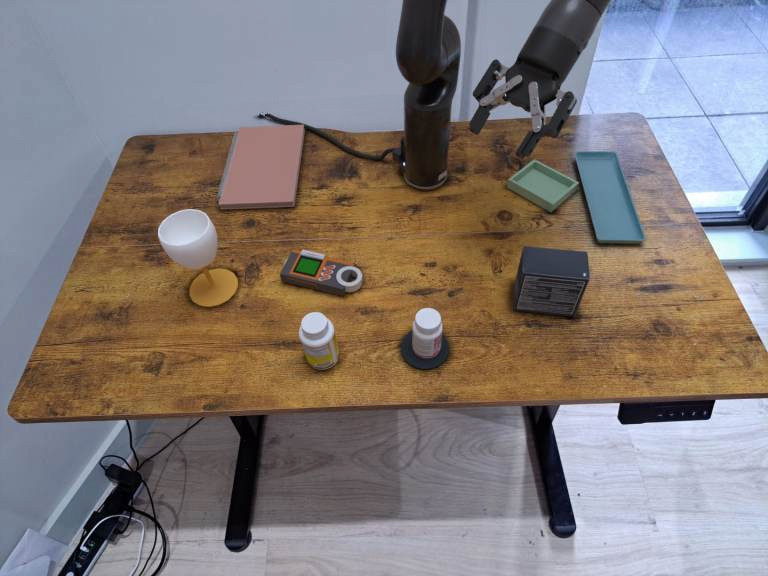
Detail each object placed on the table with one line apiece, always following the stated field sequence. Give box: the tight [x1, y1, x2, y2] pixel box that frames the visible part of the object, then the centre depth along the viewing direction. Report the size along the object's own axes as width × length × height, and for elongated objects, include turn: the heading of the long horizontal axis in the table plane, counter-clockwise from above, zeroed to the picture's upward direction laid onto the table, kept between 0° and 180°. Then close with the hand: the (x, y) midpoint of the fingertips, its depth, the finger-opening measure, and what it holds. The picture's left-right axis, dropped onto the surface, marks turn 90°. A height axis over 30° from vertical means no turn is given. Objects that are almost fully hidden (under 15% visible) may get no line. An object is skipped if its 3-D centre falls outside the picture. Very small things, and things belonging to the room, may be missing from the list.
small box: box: [512, 245, 591, 318], centre depth 86 cm, size 11×6×10 cm, turn 80°
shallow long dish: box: [573, 150, 647, 245], centre depth 104 cm, size 26×9×2 cm, turn 177°
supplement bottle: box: [298, 311, 340, 371], centre depth 81 cm, size 6×6×10 cm
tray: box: [506, 158, 580, 213], centre depth 107 cm, size 11×9×2 cm
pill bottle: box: [412, 307, 444, 358], centre depth 81 cm, size 5×5×8 cm
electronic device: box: [279, 248, 363, 297], centre depth 94 cm, size 7×3×15 cm
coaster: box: [400, 329, 450, 371], centre depth 85 cm, size 8×8×1 cm
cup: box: [157, 208, 239, 308], centre depth 89 cm, size 9×9×16 cm
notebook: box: [215, 124, 306, 211], centre depth 115 cm, size 27×17×2 cm, turn 1°
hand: (495, 144), depth 75 cm, fingers open, 8 cm apart
